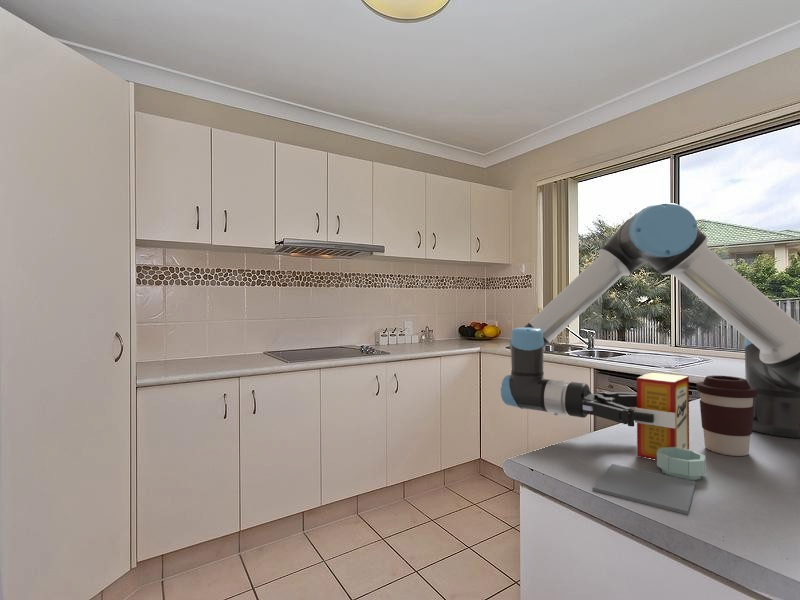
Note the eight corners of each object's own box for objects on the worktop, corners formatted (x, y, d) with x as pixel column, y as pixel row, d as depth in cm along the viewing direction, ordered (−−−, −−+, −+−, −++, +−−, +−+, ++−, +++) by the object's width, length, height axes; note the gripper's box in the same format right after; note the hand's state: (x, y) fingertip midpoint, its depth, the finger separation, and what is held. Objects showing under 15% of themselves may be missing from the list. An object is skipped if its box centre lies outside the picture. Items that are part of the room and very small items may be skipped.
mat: (695, 484, 73) (695, 481, 73) (688, 514, 63) (687, 511, 63) (611, 466, 81) (611, 463, 81) (592, 490, 71) (592, 487, 71)
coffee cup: (699, 439, 96) (699, 372, 96) (757, 449, 90) (756, 377, 90) (694, 452, 88) (694, 378, 88) (757, 463, 82) (757, 384, 82)
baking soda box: (653, 445, 92) (653, 370, 93) (689, 453, 88) (688, 374, 88) (637, 456, 86) (636, 376, 86) (674, 465, 81) (674, 380, 81)
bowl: (706, 472, 78) (706, 452, 78) (703, 485, 72) (703, 464, 72) (661, 463, 82) (660, 444, 82) (654, 474, 77) (654, 455, 77)
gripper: (584, 404, 108) (686, 418, 94) (549, 427, 88) (671, 449, 75) (584, 374, 108) (686, 384, 94) (549, 391, 88) (670, 406, 75)
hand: (679, 413), depth 85 cm, fingers open, 13 cm apart
